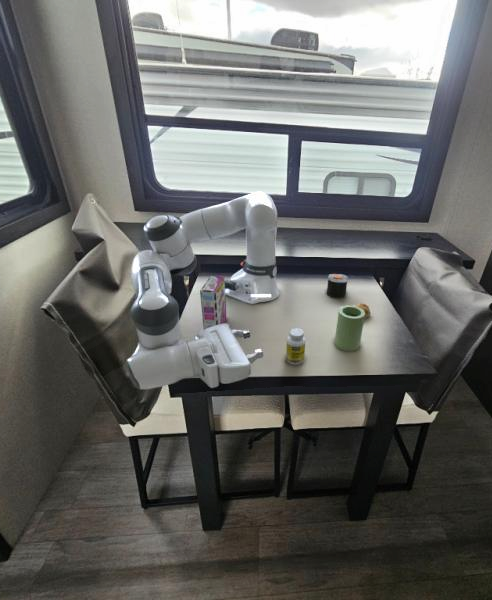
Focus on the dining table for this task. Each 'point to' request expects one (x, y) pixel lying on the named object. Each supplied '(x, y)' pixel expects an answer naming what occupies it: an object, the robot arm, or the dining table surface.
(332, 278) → the sushi
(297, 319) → the dining table surface
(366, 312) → the pastry
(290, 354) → the supplement bottle
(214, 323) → the candy bar box
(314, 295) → the dining table surface
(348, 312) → the green vase
